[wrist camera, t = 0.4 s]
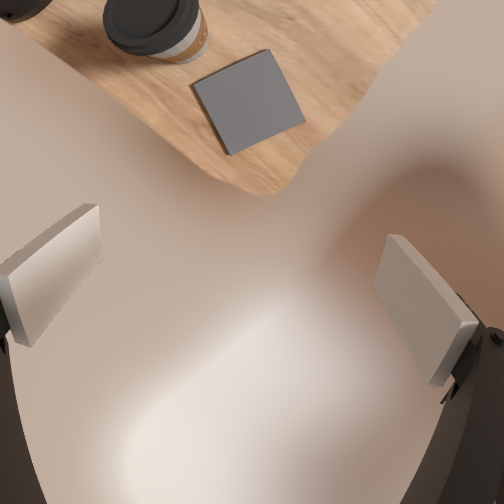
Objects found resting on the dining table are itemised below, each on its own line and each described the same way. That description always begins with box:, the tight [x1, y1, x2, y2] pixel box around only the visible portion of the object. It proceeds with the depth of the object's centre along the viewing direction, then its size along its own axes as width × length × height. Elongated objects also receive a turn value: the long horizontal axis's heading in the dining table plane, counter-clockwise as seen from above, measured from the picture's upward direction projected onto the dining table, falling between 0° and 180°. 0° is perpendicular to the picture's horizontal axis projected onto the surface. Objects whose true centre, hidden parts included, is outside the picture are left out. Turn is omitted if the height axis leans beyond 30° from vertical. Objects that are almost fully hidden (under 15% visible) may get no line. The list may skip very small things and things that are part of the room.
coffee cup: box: [103, 0, 209, 64], centre depth 25 cm, size 8×8×15 cm
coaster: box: [194, 49, 306, 156], centre depth 35 cm, size 10×10×1 cm
